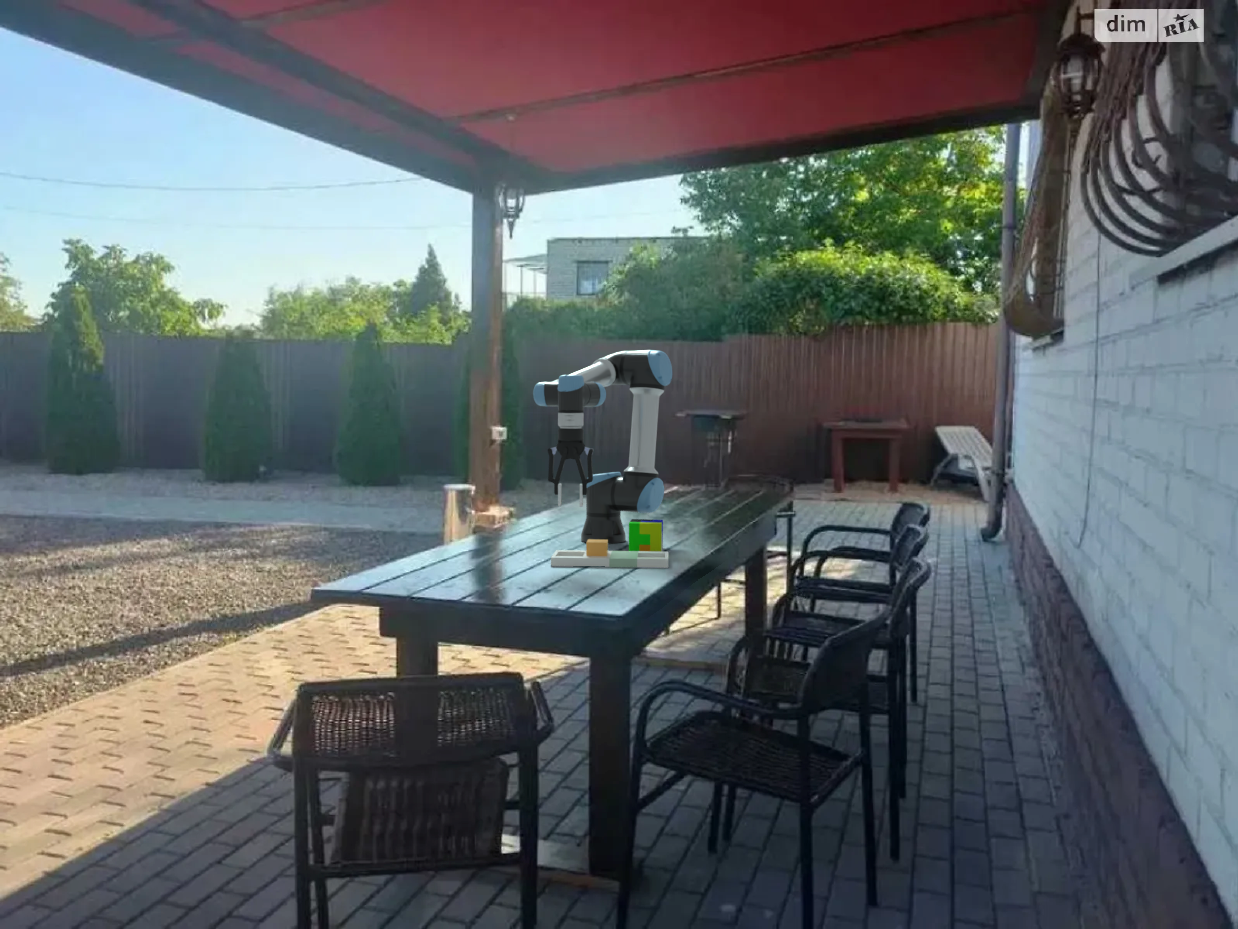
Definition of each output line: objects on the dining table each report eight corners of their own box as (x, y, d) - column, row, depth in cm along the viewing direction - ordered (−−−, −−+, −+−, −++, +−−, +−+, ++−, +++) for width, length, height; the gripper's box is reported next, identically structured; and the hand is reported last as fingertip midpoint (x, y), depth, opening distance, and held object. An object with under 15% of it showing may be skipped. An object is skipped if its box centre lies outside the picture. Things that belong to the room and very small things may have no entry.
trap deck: (556, 558, 306) (556, 550, 306) (668, 559, 304) (668, 551, 304) (550, 566, 292) (550, 557, 292) (668, 567, 291) (668, 559, 290)
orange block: (587, 552, 301) (588, 539, 301) (607, 552, 301) (608, 539, 301) (586, 555, 295) (586, 542, 295) (606, 556, 295) (606, 542, 295)
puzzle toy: (662, 550, 322) (662, 519, 321) (660, 555, 312) (661, 523, 312) (631, 550, 323) (631, 519, 322) (628, 555, 313) (628, 523, 313)
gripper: (537, 427, 293) (537, 507, 294) (601, 428, 292) (601, 507, 293) (540, 426, 300) (540, 504, 302) (603, 427, 299) (602, 504, 301)
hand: (570, 505), depth 298 cm, fingers open, 6 cm apart
